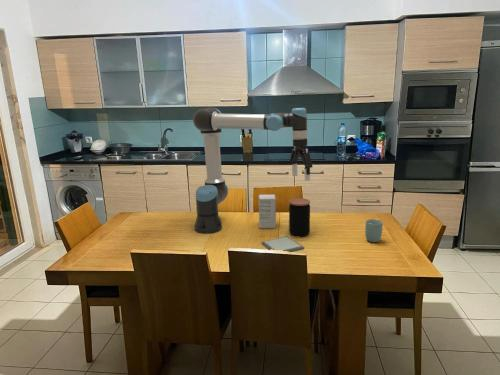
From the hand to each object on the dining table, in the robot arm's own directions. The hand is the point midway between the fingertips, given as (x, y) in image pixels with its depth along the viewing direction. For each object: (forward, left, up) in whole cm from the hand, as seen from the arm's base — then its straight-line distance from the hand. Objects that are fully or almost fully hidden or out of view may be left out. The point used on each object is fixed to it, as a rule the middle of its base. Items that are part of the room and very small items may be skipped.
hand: (300, 178), depth 197 cm
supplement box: (-10, -15, -28) cm, 33 cm away
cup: (+34, +21, -28) cm, 48 cm away
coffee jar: (+9, -6, -28) cm, 30 cm away
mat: (+19, -22, -28) cm, 40 cm away
